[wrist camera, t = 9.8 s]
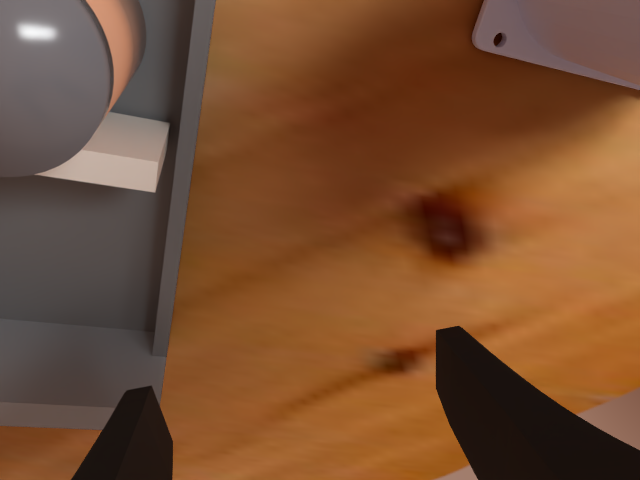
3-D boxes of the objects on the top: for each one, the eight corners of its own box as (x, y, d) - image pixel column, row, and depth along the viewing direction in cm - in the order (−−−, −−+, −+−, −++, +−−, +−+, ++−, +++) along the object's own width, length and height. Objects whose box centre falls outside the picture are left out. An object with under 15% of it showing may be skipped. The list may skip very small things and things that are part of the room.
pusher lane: (249, -243, 15) (258, -316, 11) (167, 347, 25) (156, 432, 21) (-125, -379, 13) (-299, -540, 9) (-53, 330, 23) (-118, 421, 18)
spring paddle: (170, 123, 19) (158, 162, 16) (167, 148, 20) (155, 192, 16) (-55, 81, 17) (-124, 116, 14) (-53, 111, 18) (-119, 151, 14)
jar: (153, -38, 17) (112, -27, 11) (139, 113, 19) (100, 192, 13) (-22, -82, 16) (-176, -98, 10) (-14, 84, 18) (-136, 157, 12)
